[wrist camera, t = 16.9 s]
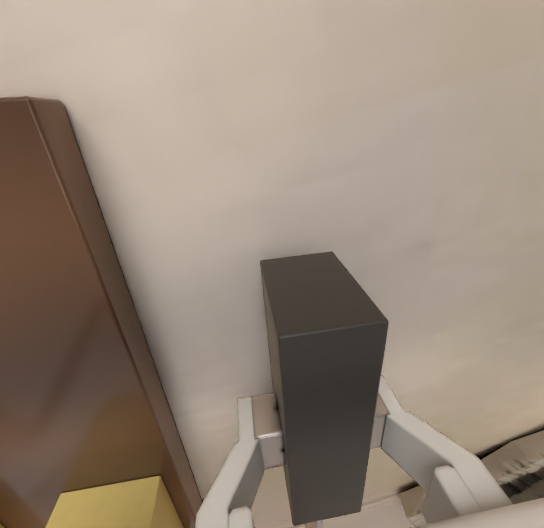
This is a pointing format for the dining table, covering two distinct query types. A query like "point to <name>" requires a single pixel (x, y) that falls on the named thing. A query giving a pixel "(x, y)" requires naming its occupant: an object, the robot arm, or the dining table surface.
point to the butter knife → (323, 380)
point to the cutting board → (70, 336)
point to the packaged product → (499, 475)
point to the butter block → (117, 506)
